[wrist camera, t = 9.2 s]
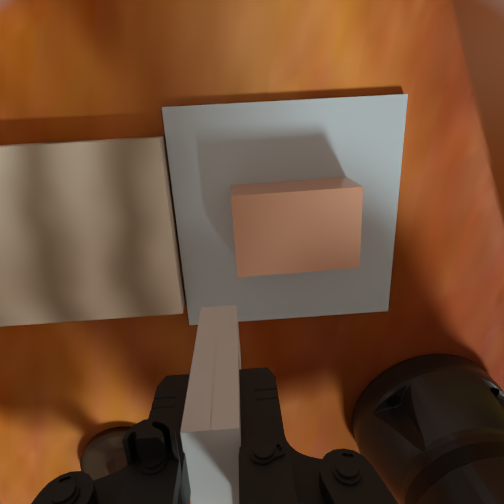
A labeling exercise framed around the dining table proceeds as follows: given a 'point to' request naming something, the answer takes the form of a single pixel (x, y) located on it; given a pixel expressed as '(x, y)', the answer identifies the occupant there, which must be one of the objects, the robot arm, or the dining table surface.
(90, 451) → the candlestick
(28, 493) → the dining table surface
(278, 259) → the pink block
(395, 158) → the mat
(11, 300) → the beige flat rectangular piece
